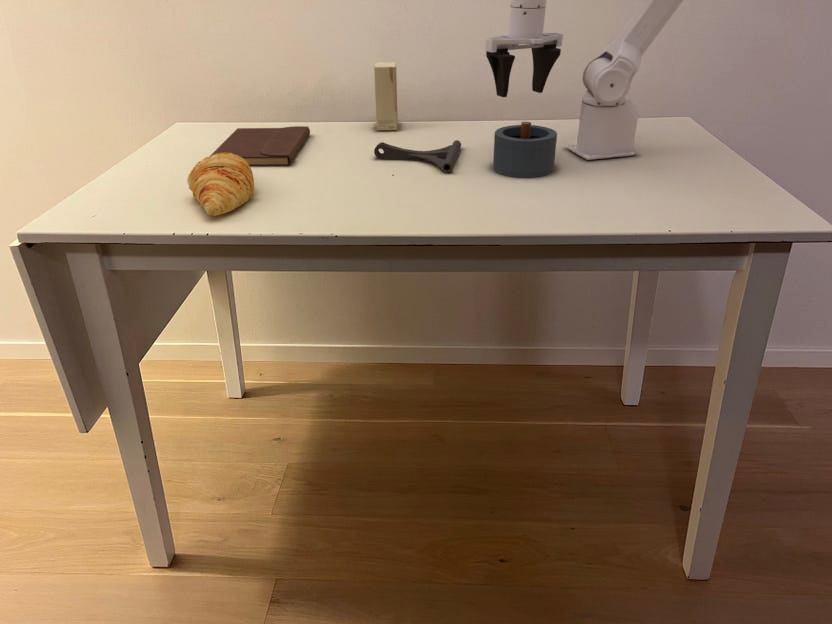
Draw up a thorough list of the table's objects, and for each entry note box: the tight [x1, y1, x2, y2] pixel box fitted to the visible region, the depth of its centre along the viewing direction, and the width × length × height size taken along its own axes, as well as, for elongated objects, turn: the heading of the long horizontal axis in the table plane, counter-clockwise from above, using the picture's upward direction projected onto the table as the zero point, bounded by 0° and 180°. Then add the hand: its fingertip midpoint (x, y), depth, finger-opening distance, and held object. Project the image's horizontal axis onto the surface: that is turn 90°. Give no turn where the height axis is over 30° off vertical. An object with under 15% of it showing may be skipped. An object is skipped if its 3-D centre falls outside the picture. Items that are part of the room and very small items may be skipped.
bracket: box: [373, 139, 462, 173], centre depth 125 cm, size 14×15×3 cm
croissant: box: [186, 152, 255, 217], centre depth 109 cm, size 21×10×8 cm, turn 5°
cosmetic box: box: [373, 61, 399, 131], centre depth 141 cm, size 6×4×12 cm
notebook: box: [208, 125, 311, 167], centre depth 132 cm, size 15×20×2 cm
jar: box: [492, 124, 558, 178], centre depth 118 cm, size 10×10×6 cm
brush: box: [520, 121, 532, 139], centre depth 118 cm, size 3×3×7 cm
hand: (519, 93), depth 121 cm, fingers open, 7 cm apart
